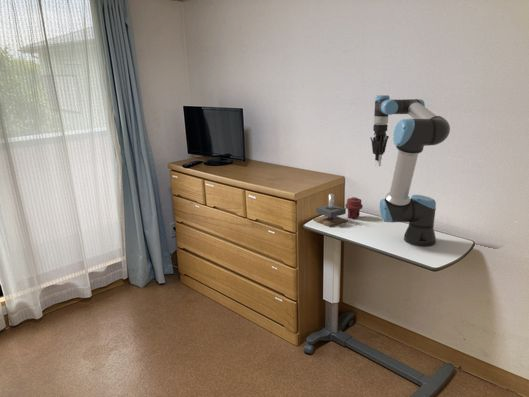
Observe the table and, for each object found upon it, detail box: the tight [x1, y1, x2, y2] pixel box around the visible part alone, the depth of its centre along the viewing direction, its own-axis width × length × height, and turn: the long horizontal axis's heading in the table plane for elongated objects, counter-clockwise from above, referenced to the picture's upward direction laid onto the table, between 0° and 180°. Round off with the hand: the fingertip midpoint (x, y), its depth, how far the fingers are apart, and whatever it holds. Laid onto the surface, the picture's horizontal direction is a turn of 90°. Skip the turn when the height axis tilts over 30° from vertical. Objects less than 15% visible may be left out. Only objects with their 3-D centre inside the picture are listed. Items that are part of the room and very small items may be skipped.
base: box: [313, 215, 349, 228], centre depth 236 cm, size 14×14×2 cm
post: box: [327, 193, 335, 220], centre depth 234 cm, size 3×3×15 cm
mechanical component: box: [344, 196, 363, 220], centre depth 241 cm, size 12×10×10 cm
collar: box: [315, 204, 347, 218], centre depth 234 cm, size 12×12×3 cm
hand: (377, 165), depth 230 cm, fingers closed
